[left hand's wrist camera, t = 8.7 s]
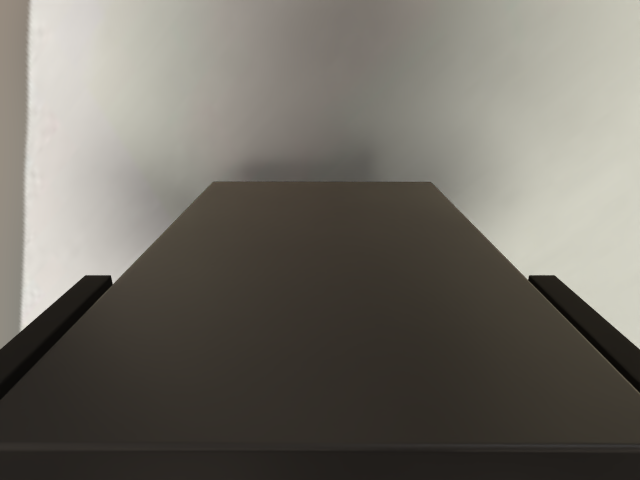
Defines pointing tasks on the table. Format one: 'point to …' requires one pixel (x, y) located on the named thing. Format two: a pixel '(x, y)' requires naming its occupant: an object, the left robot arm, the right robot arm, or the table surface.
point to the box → (321, 355)
